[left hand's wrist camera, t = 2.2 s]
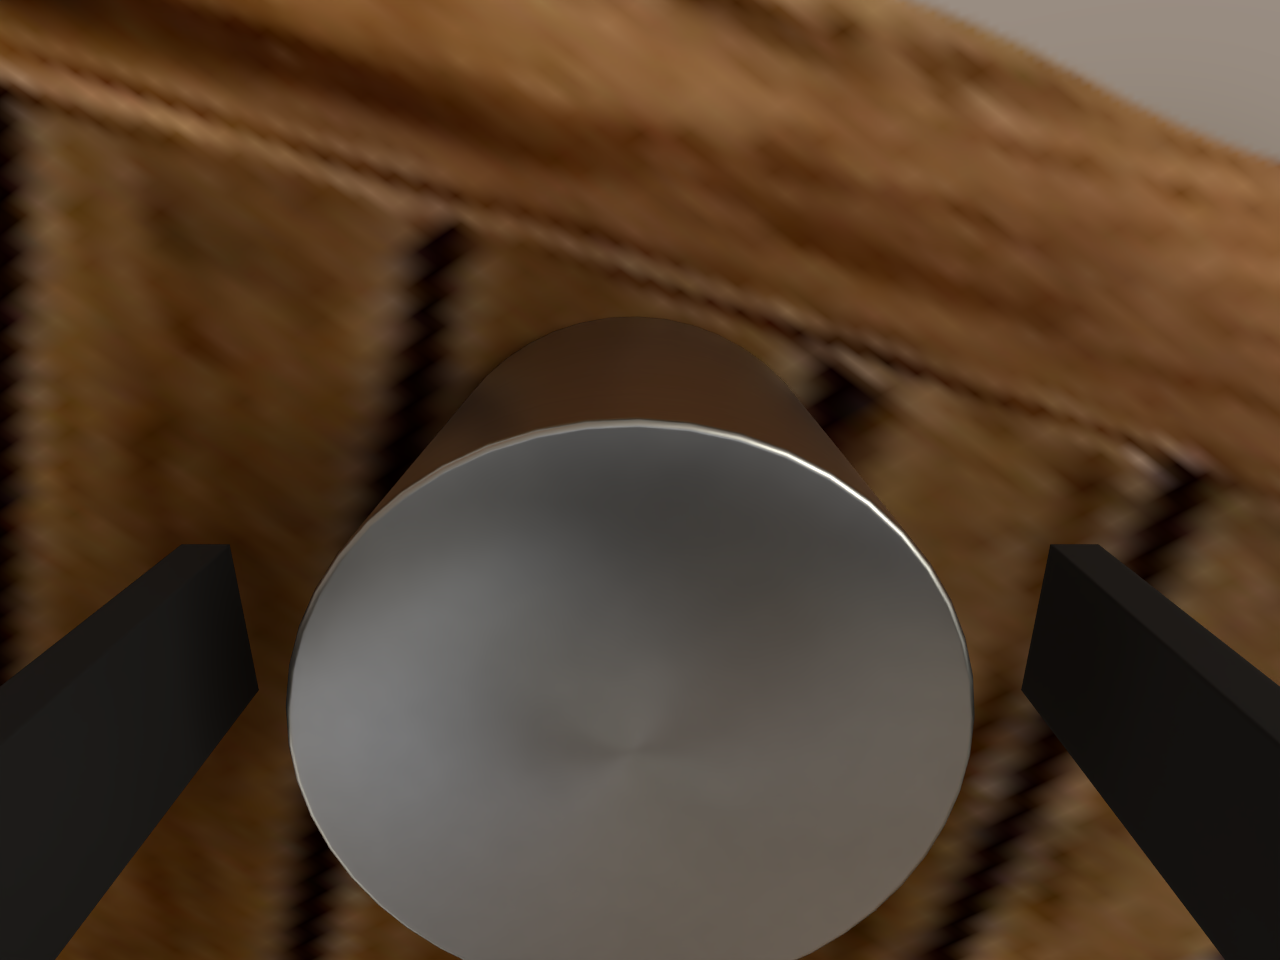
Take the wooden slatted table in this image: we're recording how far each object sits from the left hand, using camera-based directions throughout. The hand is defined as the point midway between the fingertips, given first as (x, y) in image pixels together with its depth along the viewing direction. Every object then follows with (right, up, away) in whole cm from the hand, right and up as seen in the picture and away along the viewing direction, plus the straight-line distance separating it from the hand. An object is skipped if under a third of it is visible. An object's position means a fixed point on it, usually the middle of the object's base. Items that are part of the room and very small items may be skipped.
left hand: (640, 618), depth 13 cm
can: (0, +1, +5) cm, 5 cm away
